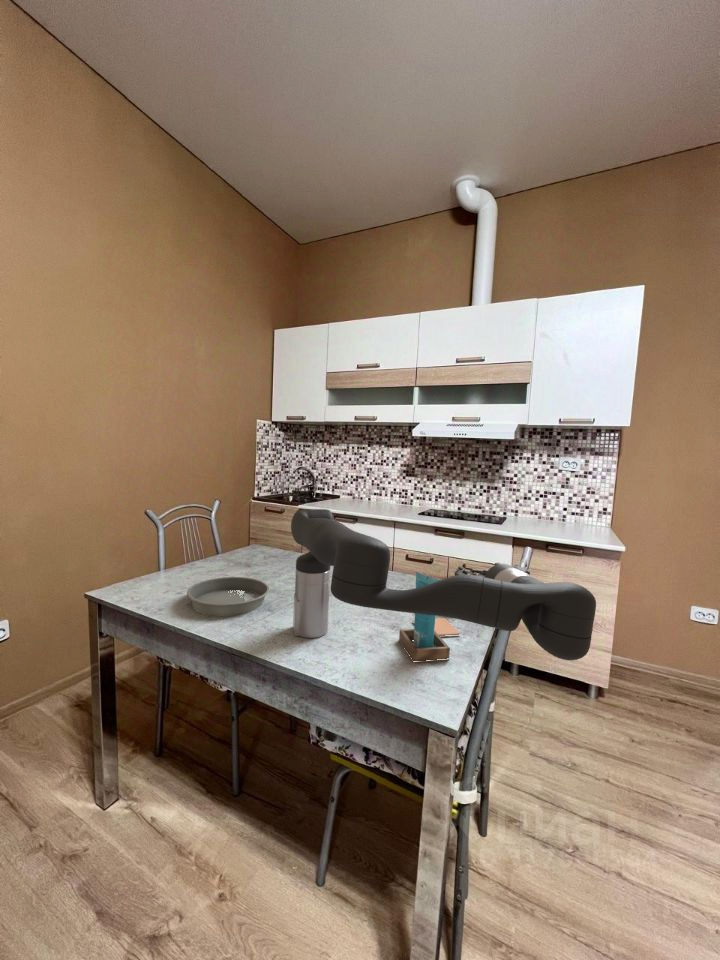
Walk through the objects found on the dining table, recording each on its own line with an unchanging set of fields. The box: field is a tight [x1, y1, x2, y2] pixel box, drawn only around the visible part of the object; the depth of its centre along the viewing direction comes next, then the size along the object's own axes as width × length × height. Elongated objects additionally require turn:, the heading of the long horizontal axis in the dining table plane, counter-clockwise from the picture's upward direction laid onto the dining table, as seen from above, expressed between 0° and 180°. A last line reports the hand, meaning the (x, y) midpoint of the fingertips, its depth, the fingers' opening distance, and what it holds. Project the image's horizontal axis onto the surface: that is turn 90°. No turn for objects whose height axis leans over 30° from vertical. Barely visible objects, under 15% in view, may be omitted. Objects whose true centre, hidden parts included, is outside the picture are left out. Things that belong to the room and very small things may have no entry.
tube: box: [413, 571, 440, 649], centre depth 102 cm, size 7×5×19 cm, turn 47°
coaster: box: [412, 617, 461, 636], centre depth 116 cm, size 10×10×1 cm
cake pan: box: [186, 576, 271, 617], centre depth 128 cm, size 25×25×4 cm
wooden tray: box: [398, 628, 451, 662], centre depth 103 cm, size 9×11×3 cm
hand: (478, 569), depth 91 cm, fingers open, 8 cm apart
